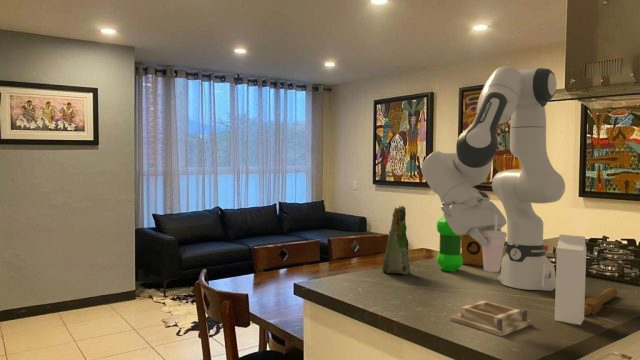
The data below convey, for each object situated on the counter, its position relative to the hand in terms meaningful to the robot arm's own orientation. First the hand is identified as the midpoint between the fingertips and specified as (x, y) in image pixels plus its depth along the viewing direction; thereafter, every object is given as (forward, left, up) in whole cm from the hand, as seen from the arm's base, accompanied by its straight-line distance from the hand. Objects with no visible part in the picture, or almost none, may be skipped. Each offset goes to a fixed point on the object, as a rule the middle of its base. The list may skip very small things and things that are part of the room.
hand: (494, 243), depth 117 cm
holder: (0, -1, -20) cm, 20 cm away
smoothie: (0, -1, -7) cm, 7 cm away
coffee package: (-62, -45, -20) cm, 79 cm away
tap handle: (-41, +9, -21) cm, 47 cm away
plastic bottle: (-44, -45, -20) cm, 66 cm away
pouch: (-23, -53, -20) cm, 61 cm away
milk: (-19, +10, -20) cm, 30 cm away
